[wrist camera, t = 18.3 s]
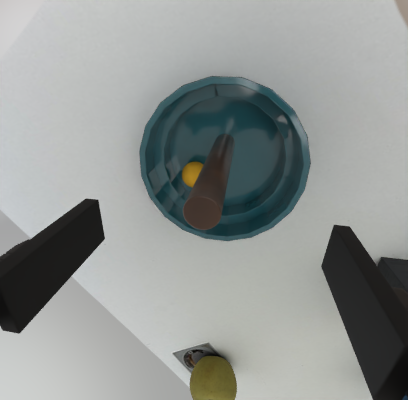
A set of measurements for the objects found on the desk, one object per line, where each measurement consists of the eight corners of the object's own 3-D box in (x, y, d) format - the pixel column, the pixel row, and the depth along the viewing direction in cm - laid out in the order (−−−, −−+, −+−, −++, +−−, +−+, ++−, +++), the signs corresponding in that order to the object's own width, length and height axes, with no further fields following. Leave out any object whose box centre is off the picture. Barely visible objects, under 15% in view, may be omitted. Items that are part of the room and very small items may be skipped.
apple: (236, 375, 47) (235, 421, 41) (195, 369, 49) (187, 413, 42) (237, 349, 44) (236, 395, 38) (193, 344, 45) (184, 387, 39)
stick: (238, 138, 28) (227, 206, 14) (229, 156, 29) (211, 236, 15) (219, 130, 28) (190, 189, 13) (212, 148, 29) (177, 221, 14)
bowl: (311, 80, 25) (329, 80, 20) (283, 220, 32) (291, 248, 27) (155, 74, 27) (132, 73, 21) (161, 208, 34) (145, 232, 29)
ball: (212, 159, 28) (214, 186, 29) (194, 160, 30) (196, 184, 31) (192, 163, 26) (195, 190, 27) (175, 163, 28) (178, 189, 29)
